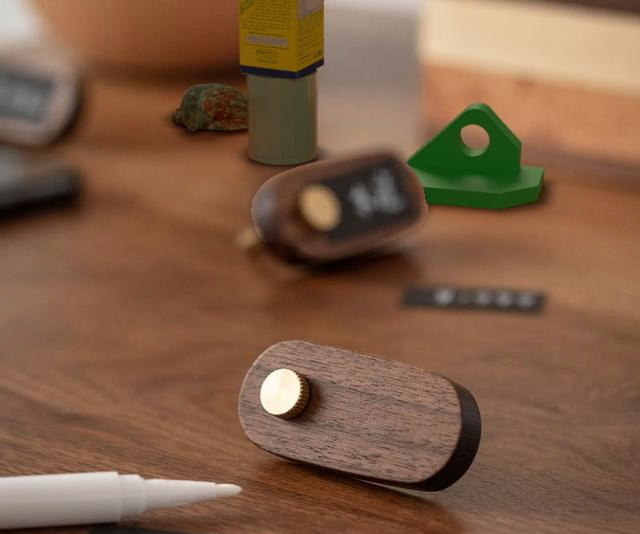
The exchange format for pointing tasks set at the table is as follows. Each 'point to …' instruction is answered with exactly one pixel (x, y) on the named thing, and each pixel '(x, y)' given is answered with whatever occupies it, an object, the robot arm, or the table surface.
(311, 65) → the supplement box
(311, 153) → the cup
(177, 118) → the seashell
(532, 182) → the bracket
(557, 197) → the table surface
